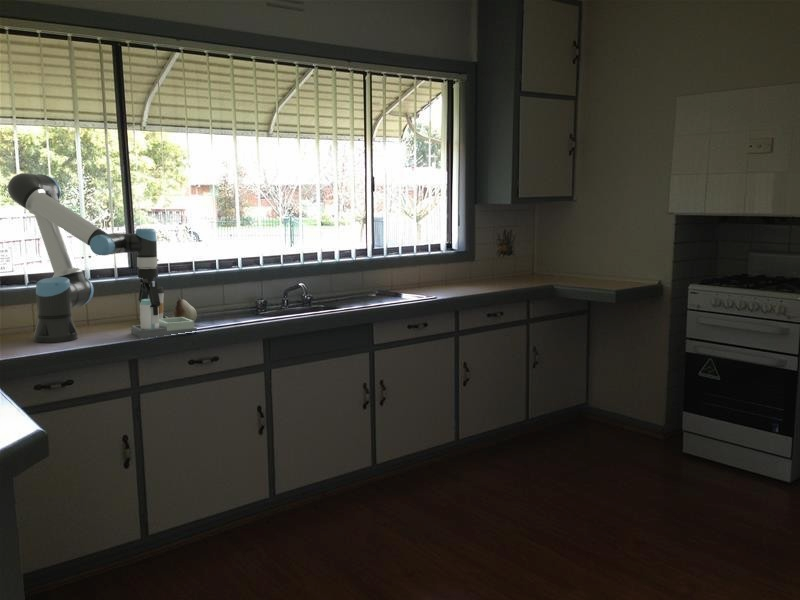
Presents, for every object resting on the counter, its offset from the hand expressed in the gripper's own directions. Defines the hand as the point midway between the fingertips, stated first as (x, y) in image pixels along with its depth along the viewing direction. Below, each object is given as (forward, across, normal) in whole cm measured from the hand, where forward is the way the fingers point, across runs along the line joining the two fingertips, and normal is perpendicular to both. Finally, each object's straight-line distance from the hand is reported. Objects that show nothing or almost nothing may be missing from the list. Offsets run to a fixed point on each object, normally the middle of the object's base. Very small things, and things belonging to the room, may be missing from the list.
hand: (149, 321), depth 281 cm
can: (+3, 0, 0) cm, 3 cm away
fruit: (+6, +14, -20) cm, 25 cm away
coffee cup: (+6, +34, -12) cm, 36 cm away
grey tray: (+5, 0, -6) cm, 8 cm away
